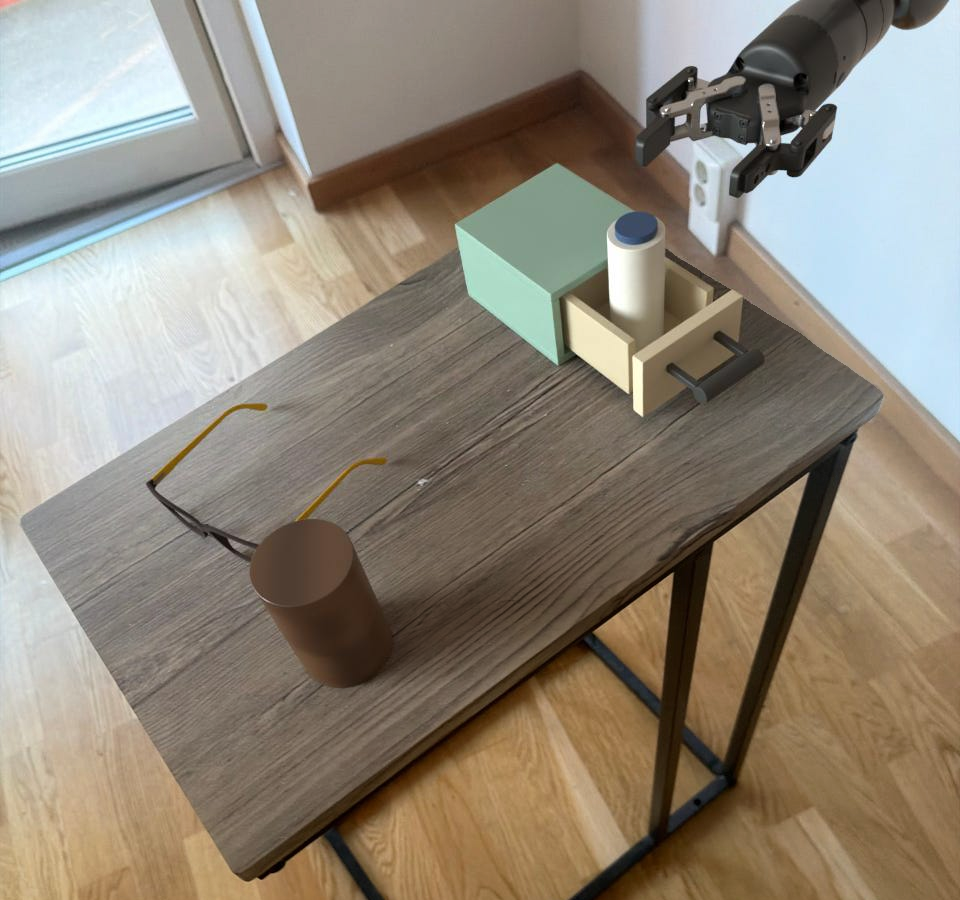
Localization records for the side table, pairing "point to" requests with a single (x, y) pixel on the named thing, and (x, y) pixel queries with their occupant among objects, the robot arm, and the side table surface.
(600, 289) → the drawer
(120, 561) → the side table surface
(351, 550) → the stand
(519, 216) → the cabinet
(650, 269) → the tube
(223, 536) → the eyeglasses
